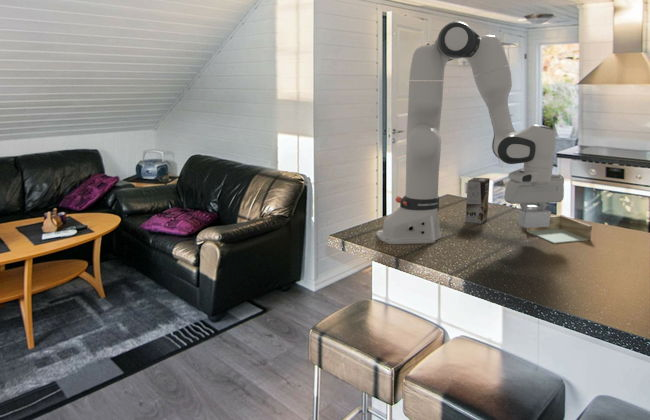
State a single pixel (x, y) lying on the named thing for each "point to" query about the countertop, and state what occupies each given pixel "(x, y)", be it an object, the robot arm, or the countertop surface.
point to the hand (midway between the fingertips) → (531, 215)
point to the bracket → (534, 217)
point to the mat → (557, 236)
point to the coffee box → (477, 200)
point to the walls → (567, 226)
